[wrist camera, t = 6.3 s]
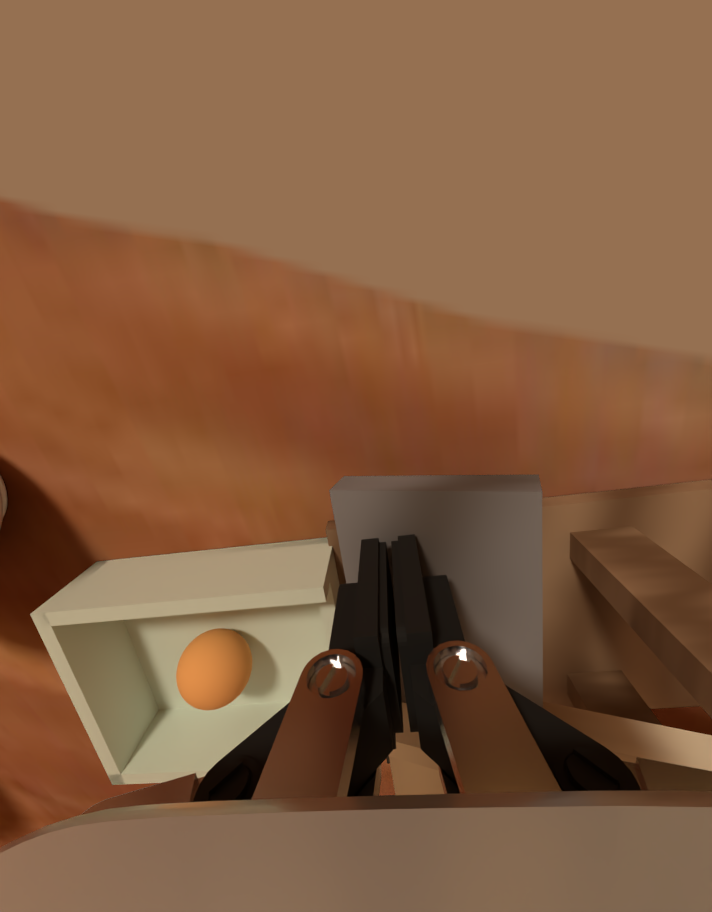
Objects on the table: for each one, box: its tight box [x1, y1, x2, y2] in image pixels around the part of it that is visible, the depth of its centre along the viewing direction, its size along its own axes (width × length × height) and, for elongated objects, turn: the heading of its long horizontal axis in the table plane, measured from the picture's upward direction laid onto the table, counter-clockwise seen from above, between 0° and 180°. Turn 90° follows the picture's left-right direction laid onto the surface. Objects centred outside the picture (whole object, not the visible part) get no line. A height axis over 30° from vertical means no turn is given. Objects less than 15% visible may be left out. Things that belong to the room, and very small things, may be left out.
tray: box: [30, 538, 339, 785], centre depth 21 cm, size 15×12×4 cm
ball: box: [176, 628, 252, 710], centre depth 21 cm, size 4×4×4 cm
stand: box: [326, 480, 712, 763], centre depth 16 cm, size 28×14×12 cm, turn 98°
